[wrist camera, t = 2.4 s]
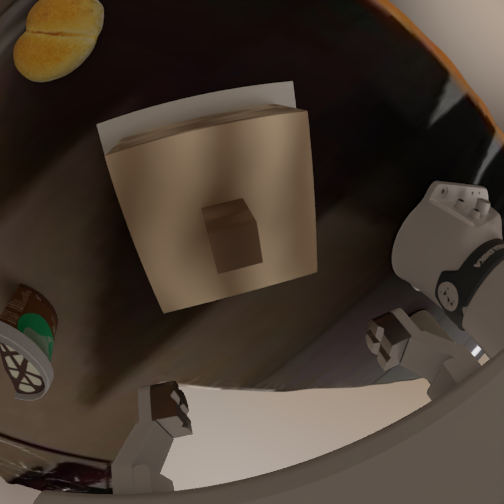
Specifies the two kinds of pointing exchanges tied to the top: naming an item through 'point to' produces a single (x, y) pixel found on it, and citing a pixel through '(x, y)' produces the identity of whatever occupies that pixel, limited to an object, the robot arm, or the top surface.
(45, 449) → the top surface
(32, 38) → the bread roll
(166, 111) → the white paper sheet
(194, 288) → the tan block
